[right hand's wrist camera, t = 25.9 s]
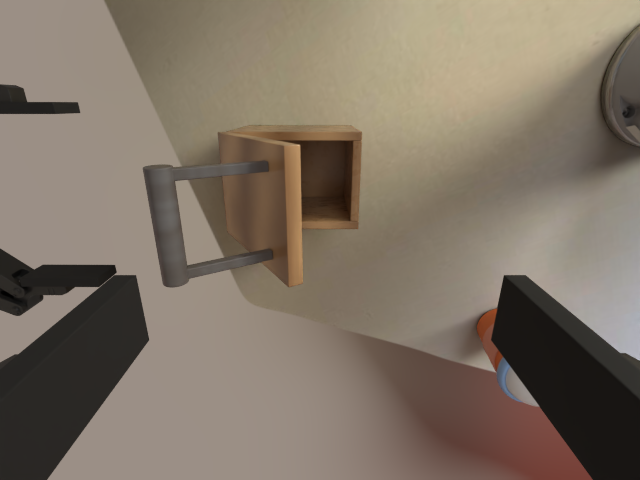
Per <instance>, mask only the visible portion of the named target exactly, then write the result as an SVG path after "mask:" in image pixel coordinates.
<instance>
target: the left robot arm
mask: <svg viewBox="0 0 640 480" xmlns="http://www.w3.org/2000/svg"><path fill="white" fill-rule="evenodd" d="M64 113H80V110H79V106H78V103H77V102H27V100H26V96H25V92H24V89H23V88H21V87H18V86H16V85H0V114H64ZM115 273H116V268H115V265H42V266H40V267H38V268H36V269H35V270H34V269H32V268H31V267H29V266H27V265H26V264H24V263H23V262H21V261H19V260H18V259H16V258H15V257H13V256H11V255H10V254H8V253H6V252H5V251H3V250H2V249H0V310H2V311H5V312H7V313H10V314H13V315H16V316H20V315H22V314H23V313H25V312H26V311H28V310H29V309H30V308H32V307H33V306H35V305H36V304H38V303H39V302H40V301H42V300H43V295H63V294H66V293H68V292H69V291H70V290H72V289H73V288H74V287H99V286H101V285H102V284H103V283H104V282H106V281H107V280H108V279H109V278H111V277H112V276H113V275H114V274H115Z"/></svg>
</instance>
